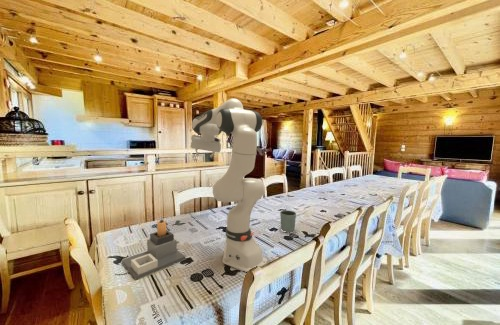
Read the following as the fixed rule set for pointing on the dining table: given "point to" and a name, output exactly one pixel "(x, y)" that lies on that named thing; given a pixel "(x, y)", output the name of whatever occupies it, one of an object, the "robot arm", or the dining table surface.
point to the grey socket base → (154, 256)
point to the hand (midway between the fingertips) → (204, 156)
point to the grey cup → (288, 220)
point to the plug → (161, 228)
